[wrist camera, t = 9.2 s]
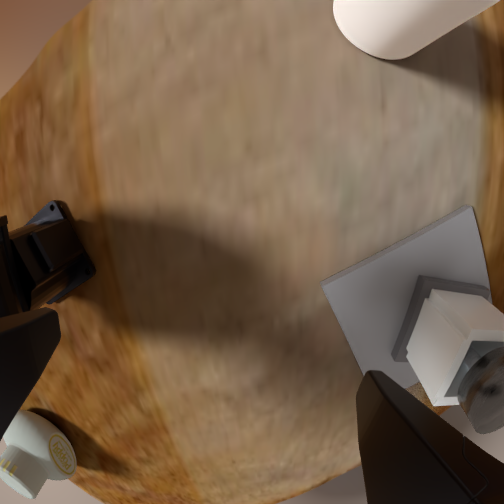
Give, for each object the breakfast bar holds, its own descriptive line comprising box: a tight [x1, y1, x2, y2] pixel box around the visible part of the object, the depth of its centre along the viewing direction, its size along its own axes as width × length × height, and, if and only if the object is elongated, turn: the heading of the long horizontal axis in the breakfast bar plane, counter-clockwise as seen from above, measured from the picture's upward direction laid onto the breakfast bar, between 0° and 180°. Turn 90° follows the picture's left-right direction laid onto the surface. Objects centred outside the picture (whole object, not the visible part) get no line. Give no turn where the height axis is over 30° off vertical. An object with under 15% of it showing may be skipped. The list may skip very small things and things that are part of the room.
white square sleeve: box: [391, 275, 504, 406], centre depth 17 cm, size 8×6×6 cm
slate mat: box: [320, 205, 492, 389], centre depth 21 cm, size 12×12×1 cm
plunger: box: [457, 345, 504, 434], centre depth 15 cm, size 4×4×8 cm
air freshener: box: [0, 410, 77, 499], centre depth 25 cm, size 11×8×10 cm
